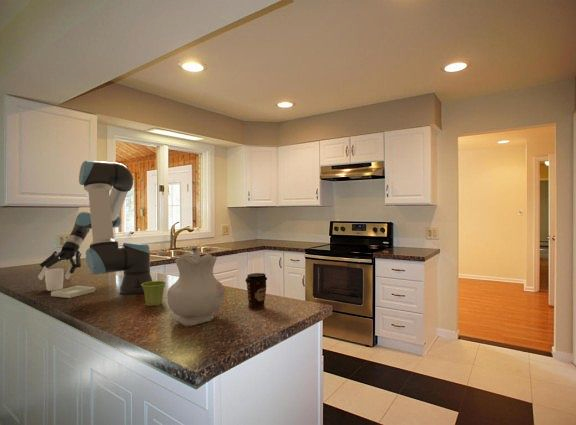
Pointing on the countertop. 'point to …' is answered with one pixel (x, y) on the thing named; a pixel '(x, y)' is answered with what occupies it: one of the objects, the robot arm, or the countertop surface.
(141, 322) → the countertop surface
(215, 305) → the ceramic pitcher
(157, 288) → the plant pot
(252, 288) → the coffee cup
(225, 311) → the countertop surface
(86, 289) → the coaster tray
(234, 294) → the countertop surface
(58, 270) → the white cup
